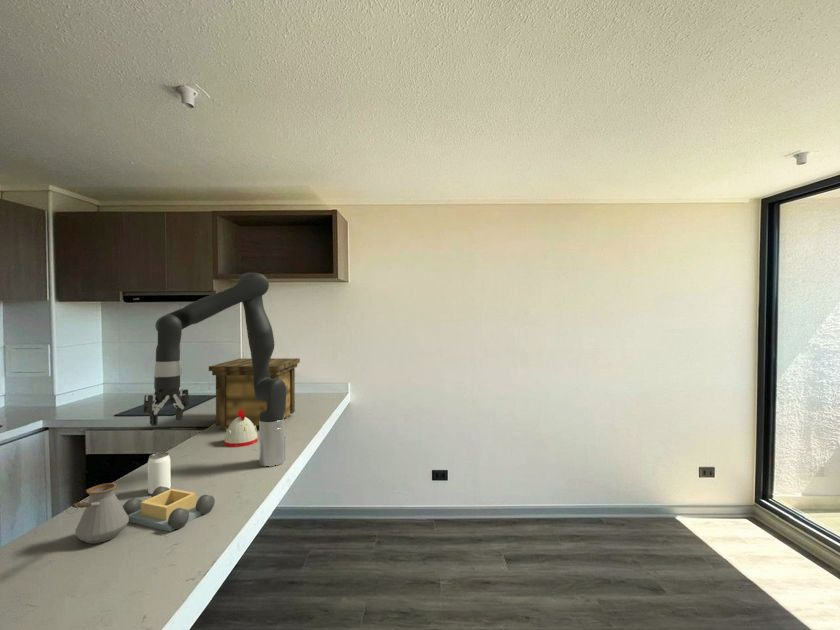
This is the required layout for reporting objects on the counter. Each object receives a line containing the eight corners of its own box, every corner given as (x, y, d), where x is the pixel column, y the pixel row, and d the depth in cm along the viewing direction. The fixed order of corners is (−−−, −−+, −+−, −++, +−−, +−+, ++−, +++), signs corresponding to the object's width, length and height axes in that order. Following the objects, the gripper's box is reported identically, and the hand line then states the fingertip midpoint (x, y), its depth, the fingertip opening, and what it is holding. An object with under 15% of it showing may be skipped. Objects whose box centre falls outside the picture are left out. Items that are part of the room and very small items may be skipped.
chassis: (166, 499, 134) (165, 483, 134) (214, 509, 127) (214, 492, 127) (121, 520, 121) (121, 502, 121) (173, 532, 114) (173, 514, 114)
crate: (209, 431, 210) (208, 366, 210) (240, 414, 245) (240, 358, 245) (278, 431, 209) (278, 366, 209) (300, 414, 244) (299, 358, 244)
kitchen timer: (229, 449, 183) (229, 414, 183) (221, 441, 194) (220, 409, 193) (261, 442, 192) (261, 410, 192) (251, 436, 202) (251, 404, 202)
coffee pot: (88, 528, 116) (87, 474, 116) (135, 522, 119) (134, 469, 119) (42, 574, 96) (41, 509, 96) (101, 565, 99) (100, 502, 99)
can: (150, 488, 142) (150, 453, 142) (172, 485, 144) (172, 450, 144) (145, 496, 136) (145, 459, 136) (168, 493, 138) (168, 457, 138)
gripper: (179, 371, 149) (178, 417, 149) (138, 376, 136) (137, 426, 136) (194, 372, 146) (193, 419, 146) (154, 377, 133) (153, 429, 133)
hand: (166, 423), depth 141 cm, fingers open, 8 cm apart
